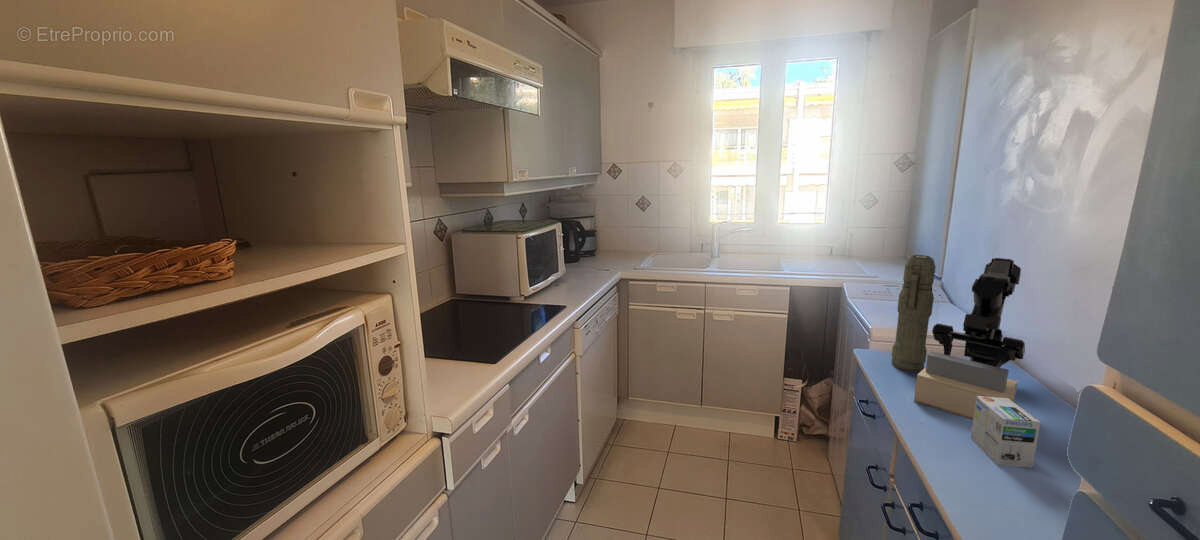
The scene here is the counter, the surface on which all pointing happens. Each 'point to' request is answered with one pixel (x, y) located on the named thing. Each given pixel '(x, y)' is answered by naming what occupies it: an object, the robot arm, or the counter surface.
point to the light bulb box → (1005, 431)
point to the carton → (952, 397)
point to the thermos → (914, 314)
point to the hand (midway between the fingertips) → (967, 368)
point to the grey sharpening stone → (966, 375)
